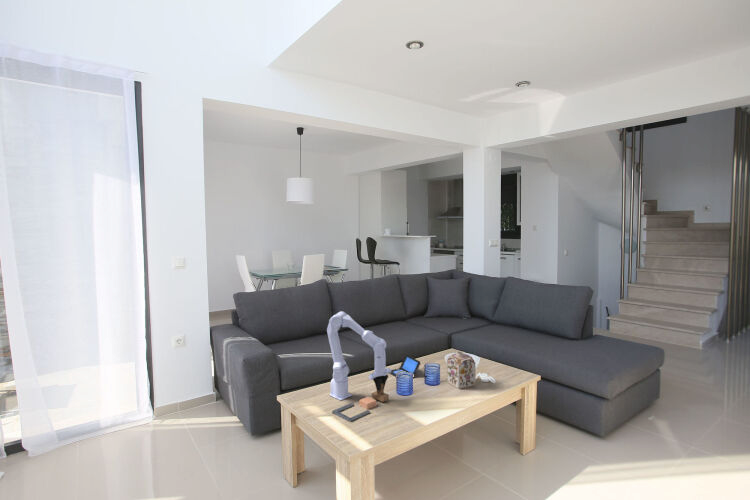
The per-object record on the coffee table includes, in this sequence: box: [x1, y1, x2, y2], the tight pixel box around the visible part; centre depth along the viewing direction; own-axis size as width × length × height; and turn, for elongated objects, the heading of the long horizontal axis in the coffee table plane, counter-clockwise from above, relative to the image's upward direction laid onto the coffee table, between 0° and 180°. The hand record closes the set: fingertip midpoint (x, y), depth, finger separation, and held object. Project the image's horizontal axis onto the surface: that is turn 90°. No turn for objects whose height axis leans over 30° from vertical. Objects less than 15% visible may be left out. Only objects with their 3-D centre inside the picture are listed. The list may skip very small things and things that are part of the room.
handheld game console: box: [389, 354, 421, 379], centre depth 247 cm, size 16×13×9 cm
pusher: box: [371, 383, 390, 403], centre depth 212 cm, size 8×4×8 cm, turn 45°
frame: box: [331, 402, 370, 423], centre depth 198 cm, size 13×12×1 cm
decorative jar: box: [446, 351, 477, 390], centre depth 232 cm, size 12×12×18 cm
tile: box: [359, 396, 377, 410], centre depth 206 cm, size 6×6×3 cm
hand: (380, 389), depth 212 cm, fingers closed on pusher, 2 cm apart
